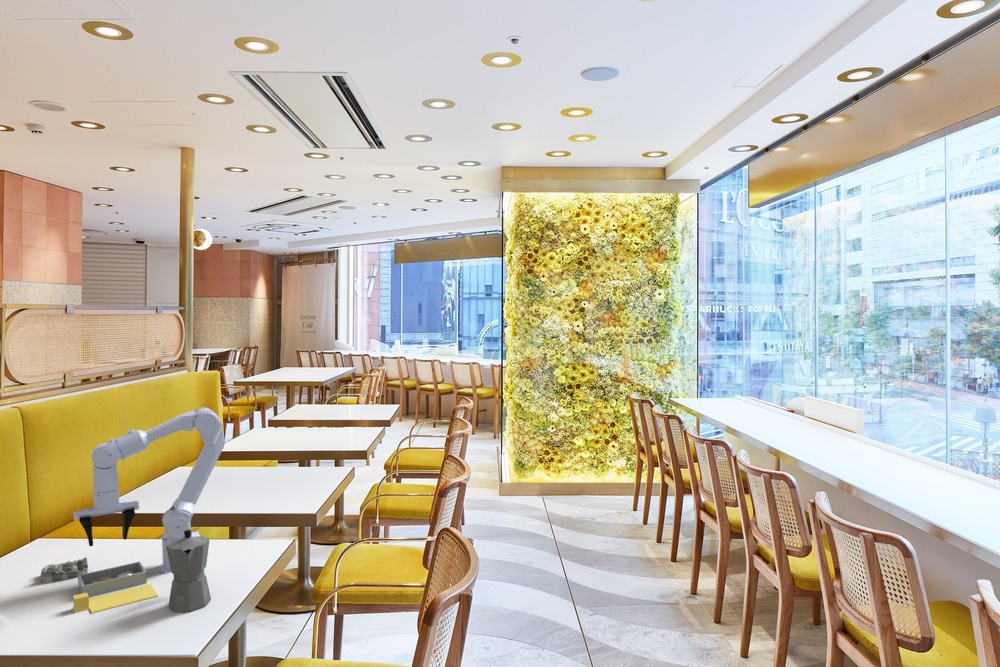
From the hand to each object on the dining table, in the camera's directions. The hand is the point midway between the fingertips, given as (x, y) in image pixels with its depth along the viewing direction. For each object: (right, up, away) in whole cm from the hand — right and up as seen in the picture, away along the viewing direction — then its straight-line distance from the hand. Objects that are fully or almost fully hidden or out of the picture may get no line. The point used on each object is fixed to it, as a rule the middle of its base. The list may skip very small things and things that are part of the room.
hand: (108, 541), depth 173 cm
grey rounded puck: (+6, -10, -2) cm, 11 cm away
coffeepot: (+28, -11, -14) cm, 33 cm away
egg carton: (-14, -11, +3) cm, 18 cm away
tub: (+3, -11, -4) cm, 12 cm away
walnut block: (+2, -10, -6) cm, 12 cm away
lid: (+9, -11, -13) cm, 19 cm away
